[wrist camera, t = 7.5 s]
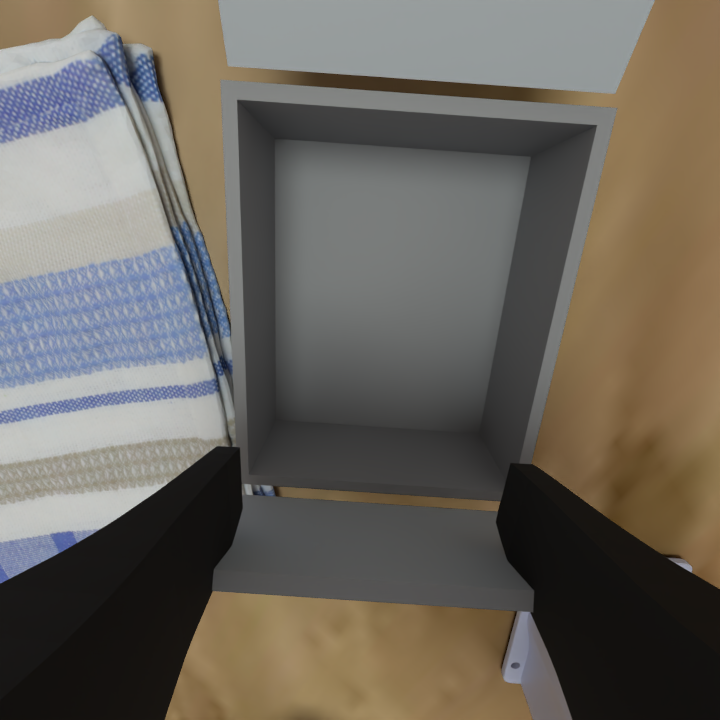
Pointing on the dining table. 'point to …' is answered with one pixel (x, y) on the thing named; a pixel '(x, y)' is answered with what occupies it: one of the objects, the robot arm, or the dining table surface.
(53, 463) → the dish towel
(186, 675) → the dining table surface
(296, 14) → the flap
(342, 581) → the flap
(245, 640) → the dining table surface
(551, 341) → the carton
